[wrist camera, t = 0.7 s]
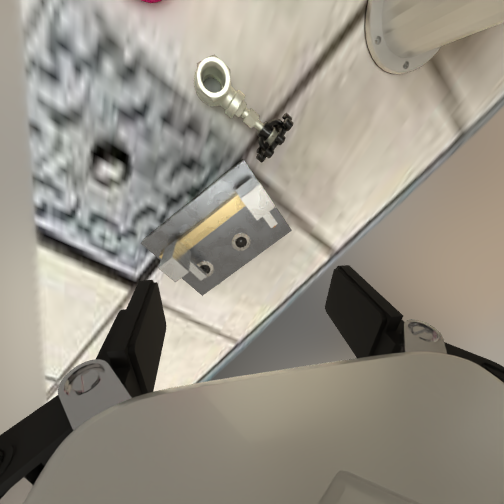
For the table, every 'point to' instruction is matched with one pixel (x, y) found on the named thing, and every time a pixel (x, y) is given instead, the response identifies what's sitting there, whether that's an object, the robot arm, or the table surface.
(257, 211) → the block
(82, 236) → the table surface
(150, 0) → the magenta pepper mill
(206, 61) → the valve
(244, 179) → the bolt plate
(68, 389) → the robot arm
